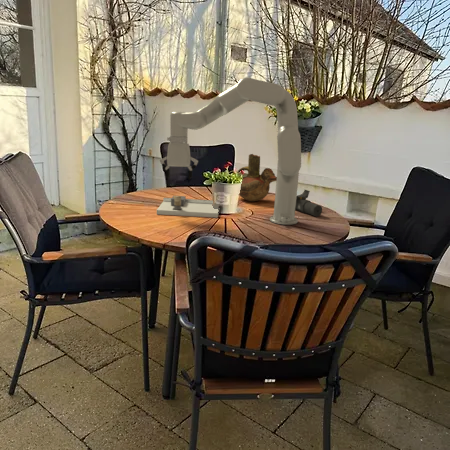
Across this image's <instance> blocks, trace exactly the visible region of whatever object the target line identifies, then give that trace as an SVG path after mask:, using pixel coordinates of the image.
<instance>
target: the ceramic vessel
mask: <svg viewBox="0 0 450 450" xmlns="http://www.w3.org/2000/svg"><path fill="white" fill-rule="evenodd" d="M247 162H248V165H247V166H243V167H241V168H239V169H238V170H237V172H240V171H241V170H243V172H244V171H247V175H245V176H242V177H243V181H242V184H241V190H240V195H239V196H240V197H241V198H242V199H244V200H245V201H247V202H257V201H258V202H259V201H260V200H263V199H265V198H266V197H267V195H268V194H269V192H270V188H271V187H270V184H271V183H273V182H276V181H277V175H276V174H275V173H274V171H273V170H272V168H270V167H269V168H268V167H267V168H264V169H263V170H262V172H261V171H260V170H261V169H260V168H261V156H260V155H257V154H253V153H250V154H248V161H247ZM260 172H261V174H260Z"/></svg>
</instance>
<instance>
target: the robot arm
mask: <svg viewBox="0 0 450 450" xmlns="http://www.w3.org/2000/svg"><path fill="white" fill-rule="evenodd" d="M248 101H252V102H256V103H260V104H264V105H268V106H271V107H272V106H273V107H274V108H275V109H276V115H277V116H276V117H277V118H276V119H277V136H276V139H277V167H276V168H277V169H276V177H277V181H275V182H276V183H275V195H274V196H275V197H274V205H273V215H272V216H270V217H269V221H270V222H271V223H273V224H274V223H275V224H279V225H283V226H284V225H286V226H292V225H296V224H297V223H298V221H299V220H298V218H297V217H295V216H296V215H295V214H296V210H295V207H296V197H297V196H298V195H297V194H298V188H299V176H300V170H301V167H302V139H301V138H302V137H301V133H300V131H299V124H298V122H299V121H298V120H299V119H298V109H297V104H296V101H295V99H294V97H293V95H292V94H291V93H290V92H289V91H288V90H287V89H285V88H284V87H282V86H281V85H280V84H277V83H275V82H269V81H264V80H260V79H255V78H252V77H247V76H246V77H243V78H241V79H240V80H239V81H238V82H237V83H235V84H234V85H233V86H231V87H229V88H228V89H226V90H224V91H223V92H221V93H219V94H218V95H217V96H216V97H215V98H214V100H212V101H210V103H208V104H207V105H206V106H205V105H204V106H203V107H202V108H200V109H199V110H197V111H191V112H186V111H172V112H171V113H170V116H169V117H170V119H169V120H170V121H169V123H170V124H169V125H170V136H169V137H167V138H166V140H167V141H168V142H169V143H168V146H167V156H165V157H163V158H161V159H159V162H160V164H161V166H162V167H163V169H164V170H165V177H166V178H167V180H169V179H170V178H171V177H170V176H171V175H170V174H171V170H170V167H181V168H183V167H187V169H188V174H187V175H188V176H187V177H188V180H191V178H193V170H194V169H195V168H196V167H197V165H198V164H199V160H198V159H197V158H194V157H193V156H191V148H190V144H189V143H188V131H189V130H194V131H195V130H200V129H203V128H205V127H206V126H209V124H211V123H213V122H214V121H217V120H218V119H219V118H221V117H223V116H225V115H228V114H229V113H230V112H232V111H234V110H235V109H237V108H238V107H241V106H242V105H244V104H245V103H247V102H248ZM188 129H189V130H188ZM165 161H166V163H165ZM191 161H192V162H193V163H194V164H193V165H191Z"/></svg>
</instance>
